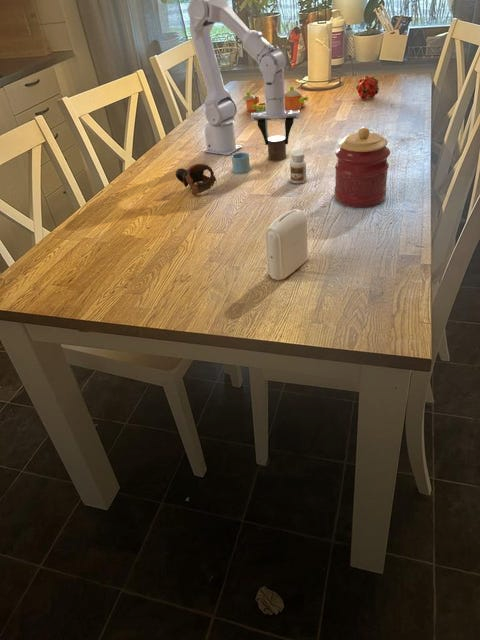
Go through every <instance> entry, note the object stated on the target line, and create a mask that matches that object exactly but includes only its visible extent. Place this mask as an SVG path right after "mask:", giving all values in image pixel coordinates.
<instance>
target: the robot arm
mask: <svg viewBox="0 0 480 640" xmlns="http://www.w3.org/2000/svg"><path fill="white" fill-rule="evenodd" d="M186 11H187V14H188V17H189V32H190V33H189V34H190V36H191V40H192V44H193V47H194V50H195V54H196V57H197V61H198V65H199V69H200V72H201V74H202V79H203V82H204V85H205V89H206V92H207V95H206V97H205V100H204V107H205V118H206V120H207V124H206V125H205V127H204V136H205V144H206V150H205V152H206V153H211V154H216V155H225V156H230V155H232V154H234V153H235V152H236V151H238V150H239V149H241V148H242V146H241V145H237V144H236V134H235V123H234V121H235V116H236V115H237V112H238V106H237V103H236V101H234V99H233V97H232V93H231V92H230V91H229V90H227V89H226V88H225V85H224V82H223V77H222V73H221V70H220V67H219V62H218V59H217V55H216V51H215V48H214V45H213V40H212V37H211V31H212V29H213V27H214V25H215V23H220V24H222V25H223V26H224V27H226V28H227V29H228V30H229V31H230V32H231V33H233V34H234V35H235V37H237V38H238V39H239V40H240V41H241V42H242V49H243V50H244V51H245V52H246V53H247V54H248V55H249V56H250V57H251V58H252V59H253V60H254V61H255V62H256V63H257V64H258V69H259V71H260V73H261V74H262V80H263V90H264V102H265V108H266V111H265V112H258V113H255V112H252V113H251V114H250V121H251V122H257V127H258V128H259V129H258V130H260V132H261V135H262V137H263V141H264V145H265V146H268V138H269V134H268V133H269V132H268V121H273V120H275V121H276V120H284V130H285V135H284V137H285V144H286V145H288V144H289V138H290V137H289V136H290V133H291V130H292V127H293V125H294V121H295V120H300V119H301V110H300V111H291V110H285V100H284V93H285V74H284V70H285V69H286V67H287V64H288V59H287V55H286V54H285V52H284V50H283V49H282V48H275V46H274V45H273V44H270V42H269V41H267V39H266V38H264V36H263V35H264V34H263V33H262V32H261V31H257V30H250V29H249V27H248V26H247V25H246V24H245V23H244V22H243V20H242V19H241V18H240V17H239V16H238V14H237V13H235V12H234V10H233V9H232V7H230V5H229V2H228V0H190V2H189V3H188V7H186Z"/></svg>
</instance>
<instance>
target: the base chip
mask: <svg viewBox="0 0 480 640" xmlns="http://www.w3.org/2000/svg"><path fill="white" fill-rule="evenodd" d="M286 158H287V151H286V152H284V153H282V154H276V155H274V154H269V153H268V152H267V159H268V160H269V161H272V162H278V161H279V162H280V161H283V160H285V159H286Z"/></svg>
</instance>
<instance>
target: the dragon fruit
mask: <svg viewBox="0 0 480 640" xmlns="http://www.w3.org/2000/svg"><path fill="white" fill-rule="evenodd" d="M355 88H356V91H357V94H358V96H359V97H360V99H361V100H367V98H369V99H370V98H371V99H373V98H374V97H375V96H376V95H377V94H378V93H379V90H380V88H379V79H377V78H375V77H374V76H368V75H365V76H364V78H360V79H359V81H358V83H357V85H356V87H355Z"/></svg>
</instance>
